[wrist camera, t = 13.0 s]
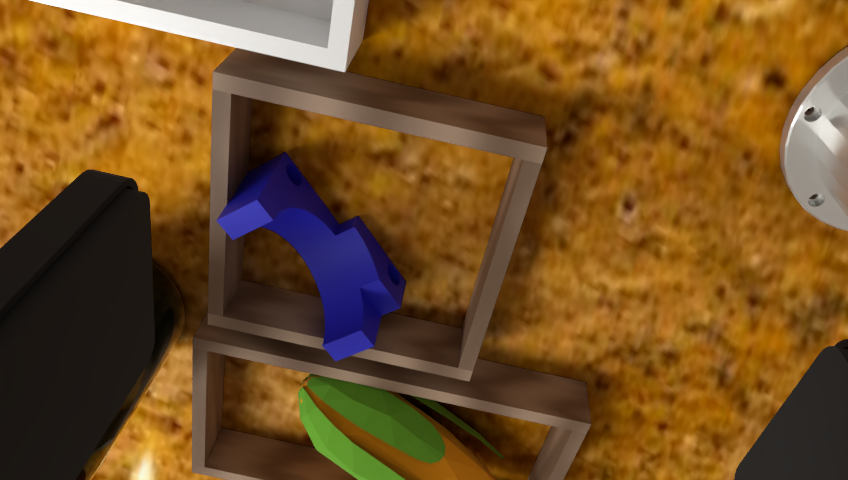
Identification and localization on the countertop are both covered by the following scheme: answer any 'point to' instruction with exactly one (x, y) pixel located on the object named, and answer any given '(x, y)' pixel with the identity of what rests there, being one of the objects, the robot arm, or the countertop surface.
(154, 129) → the countertop surface
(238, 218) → the cable clip
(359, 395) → the corn
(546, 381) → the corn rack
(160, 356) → the dark green wine bottle
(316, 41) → the bin
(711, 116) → the countertop surface
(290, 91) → the brown hollow square frame
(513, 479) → the countertop surface
